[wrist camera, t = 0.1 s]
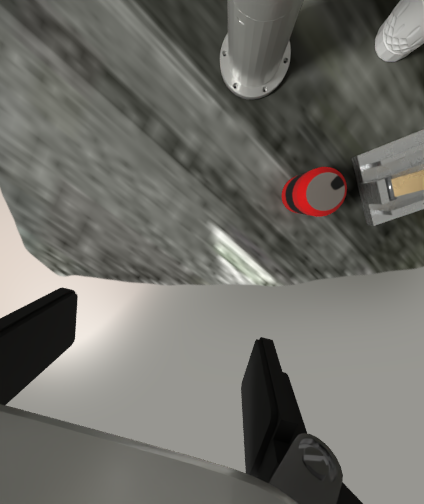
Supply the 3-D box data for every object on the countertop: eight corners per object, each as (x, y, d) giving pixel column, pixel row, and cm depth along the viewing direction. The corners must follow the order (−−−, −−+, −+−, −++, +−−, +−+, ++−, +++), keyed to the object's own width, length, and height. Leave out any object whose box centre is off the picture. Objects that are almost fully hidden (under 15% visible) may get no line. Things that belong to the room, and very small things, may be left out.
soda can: (326, 196, 43) (361, 194, 31) (295, 220, 44) (318, 227, 33) (304, 167, 42) (333, 153, 30) (273, 192, 43) (289, 189, 32)
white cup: (405, 72, 37) (467, 25, 27) (362, 59, 37) (409, 9, 27) (429, 18, 35) (506, -53, 25) (384, 5, 35) (442, -70, 25)
